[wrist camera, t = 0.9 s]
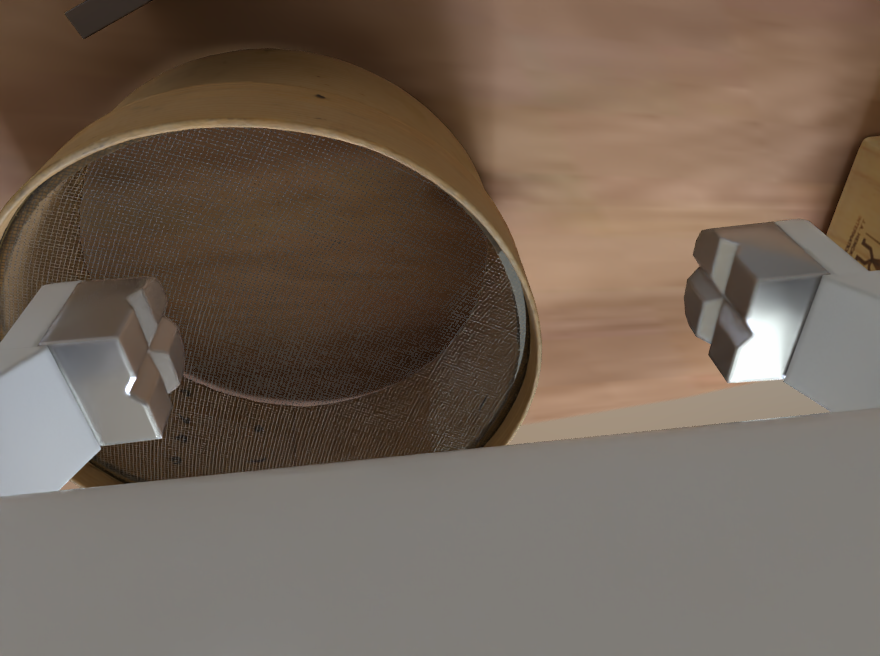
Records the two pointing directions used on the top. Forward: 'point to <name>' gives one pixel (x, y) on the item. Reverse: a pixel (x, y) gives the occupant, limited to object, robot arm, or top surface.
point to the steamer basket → (284, 426)
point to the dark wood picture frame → (100, 14)
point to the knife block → (860, 208)
